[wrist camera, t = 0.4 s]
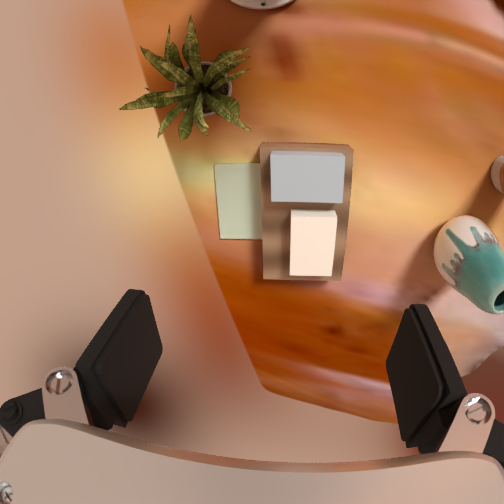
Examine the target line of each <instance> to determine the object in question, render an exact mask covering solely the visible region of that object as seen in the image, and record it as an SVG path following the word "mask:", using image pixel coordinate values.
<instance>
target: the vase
mask: <svg viewBox="0 0 504 504" xmlns="http://www.w3.org/2000/svg"><path fill="white" fill-rule="evenodd" d="M434 260H435V264H436V267H437V269H438V271H439V273H440V274H441V276H442V277H443V278H444V279H445V280H446V282H447V283H448V284H449V285H451V286H452V287H453V288H454V289H455V290H456V291H458V292H459V293H461V294H462V295H463V296H465V297H466V298H468V299H469V300H470V301H471V302H472V303H474V304H475V305H476V306H477V307H478V308H480V309H481V310H483V311H485V312H487V313H491V314H502V313H504V251H503V249H502V247H501V245H500V243H499V241H498V239H497V237H496V236H495V234H494V233H493V231H492V230H491V229H490V228H489V226H488V225H487V224H486V223H484V222H483V221H482V220H480V219H478V218H476V217H473V216H469V215H462V216H457V217H455V218H453V219H451V220H449V221H448V222H446V223H445V224H444V225H443V226H442V228H441V229H440V231H439V232H438V234H437V237H436V239H435V243H434Z"/></svg>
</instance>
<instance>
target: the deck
mask: <svg viewBox="0 0 504 504" xmlns="http://www.w3.org/2000/svg"><path fill="white" fill-rule="evenodd" d="M271 151H308V152H334V153H342V154H343V155H344V156H345V172H344V188H343V202H342V203H320V202H271V164H270V154H271ZM352 166H353V149H352V148H351V147H350V146H349V145H344V144H325V143H287V142H265V143H262V144H261V146H260V177H261V209H262V244H263V279H279V280H323V281H341V276H342V269H343V261H344V253H345V245H346V236H347V227H348V217H349V207H350V195H351V182H352ZM291 209H301V210H335V212H336V215H337V228H336V239H335V249H334V259H333V267H332V276H295V275H290V240H291Z"/></svg>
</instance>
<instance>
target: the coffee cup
mask: <svg viewBox="0 0 504 504" xmlns="http://www.w3.org/2000/svg"><path fill="white" fill-rule="evenodd" d="M491 180H492V182H493V185H494V187H495V188H496V189H497V190H498V191H500V192H501V193H502V194H503V195H504V155H503V156H500V157H498V158H497V159H496V160H495V161H494V163H493V165H492V167H491Z"/></svg>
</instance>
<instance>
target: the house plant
mask: <svg viewBox="0 0 504 504" xmlns="http://www.w3.org/2000/svg"><path fill="white" fill-rule="evenodd" d="M169 43H170V24H169V30H168V37H167V41H166V45H165V56H164V57H165V58H164V57H161V56H157V55H155V54H154V53H152V52H151V51H149V50H148V49H144V48H142V47H141V46H140V47H141V51H142V52H143V54H144V56H145V57H146V59H147V60H148V61H149V62H150V63H151V64H152V66H154V67H155V68H156V69H157V70H158V71H159V72H160V73H161V74H162V75H163V76H164V77H166V78H167V79H168V80H169V81H172V82H176V83H175V90H174V91H165V92H157V93H156V92H154V91H152V90H150V89H148V88H146V89H147V90H148V91H150V92H152V93H150V94H145V95H143V96H142V97H140V98H138V99H137V100H136V101H133V102H130V103H127V104H125V105H124V106H123V107H122V108H120V110H134V109H143V108H148V107H155V108H161V107H165V106H168V105H170V104H172V103H177V102H178V104H177V105H176V106H175V107H174V108H173V109H172V110H170V111H169V112H168V113H167V115H166V116H165V117H164V119H163V121H162V123H161V125H160V128H159V133H158V137H159V136H160V135H161V134H162V133H163V131H164V129H165V128H166V127H168V126H169V125H170V124H171V122H172V121H173V119H174V118H175V117H176V116H177V115H178V114H179V113H180V112H182V111H183V110H184V111H186V112H185V114H184V116H183V119H182V121H181V123H180V126H179V138H180V142H181V141H182V140H184V139H186V138H187V137H188V136H189V135H190V133H191V130H192V126H193V120H194V121H195V123H196V125H197V127H198V128H199V130H200V131H201V132H203V133H204V134H205V135H207V130H206V128H205V127H207V128H209V127H208V125H207V124H206V123H205V119H204V116H208V115H212V114H214V113H216V114H218V115H220V116H221V117H223V118H224V119H225V120H227V121H229V122H231V123H234V124H236V125H238V126H239V127H241V128H243V129H246V130H250V131H252V130H251V129H250V128H248V127H247V126H246V125H245V124H244V123H243V122H242V121H240V120H239V119H238V118H237V117H236V116H238V117H240V116H239V104H238V102H237V101H236V100H235V99H234V98H232V97H230V96H231V94H232V83H231V81H232V80H234V79H235V78H237V77H238V76H240V75H242V74H244V73H246V72H247V71H248V70H250V69H247V70H243V71H239V72H236V73H233V74H231V75H227V72H229V71H230V70H232V69H234V68H236V67H237V66H238V65H239V64H240V63H242V62H244V61H246V60H247V59H248V58H249V57H251V56H249V57H245V58H240V59H237V60H234V59H235V58H237V57H238V56H240V55H241V54H243V53H244V52H245V51H246V50H247V49H248V48H249V47H246V48H244V49H241V50H237V51H225V52H223V53H221V54H220V55H219V56H218V57H217V58H216V60H215V61H214V63H212V62H208V61H205V62H201V60H200V51H199V44H198V42H197V39H196V30H194V23H193V20H192V18H191V16H190V19H189V24H188V33H187V36H186V40H185V43H184V45H183V48H182V54H183V56H184V59H185V60H186V62H187V64H188V67H186V68H185V69H184V67H183V65H182V62H181V60H180V56H179V51H178V48H177V46H176V45H175V44H174V43H172V44H171V45H170V46H169ZM251 47H252V46H251ZM169 60H170V61H169ZM233 60H234V61H233ZM207 136H208V135H207Z"/></svg>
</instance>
